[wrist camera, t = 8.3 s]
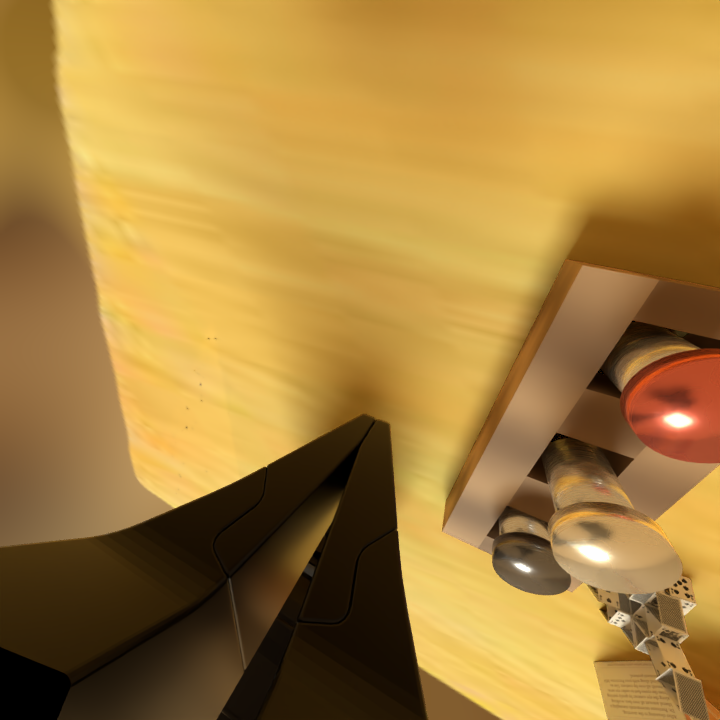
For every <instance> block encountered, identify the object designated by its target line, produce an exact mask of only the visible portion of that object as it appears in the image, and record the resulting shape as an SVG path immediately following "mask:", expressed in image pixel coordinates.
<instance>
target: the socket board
mask: <svg viewBox="0 0 720 720" xmlns="http://www.w3.org/2000/svg"><path fill="white" fill-rule="evenodd" d="M632 320H634V321H638V322H643V323H647V324H652V325H656V326H660V327H665V328H669V329H674V330H678V331H682V332H687V335H686V336H685V337H684V338H683V339H684V340H686V341H688V342H690V343H692V344H693V345H695V346H697V347H699V348H701V349H720V288H717V287H711V286H706V285H701V284H695V283H690V282H685V281H679V280H674V279H669V278H664V277H658V276H653V275H648V274H642V273H637V272H632V271H627V270H621V269H616V268H611V267H605V266H600V265H595V264H590V263H584V262H579V261H574V260H568V259H566V260H565V262H564V264H563V266H562V268H561V270H560V272H559V274H558V276H557V278H556V280H555V282H554V284H553V286H552V288H551V290H550V292H549V294H548V296H547V298H546V300H545V302H544V304H543V306H542V308H541V310H540V312H539V314H538V316H537V318H536V320H535V322H534V324H533V326H532V328H531V331H530V333H529V335H528V337H527V339H526V341H525V343H524V345H523V347H522V349H521V351H520V353H519V355H518V357H517V359H516V361H515V363H514V365H513V367H512V369H511V371H510V373H509V375H508V377H507V379H506V381H505V383H504V385H503V387H502V389H501V391H500V393H499V395H498V397H497V399H496V401H495V403H494V405H493V407H492V409H491V411H490V413H489V416H488V418H487V420H486V422H485V424H484V426H483V428H482V430H481V432H480V434H479V436H478V438H477V440H476V442H475V444H474V446H473V448H472V450H471V452H470V454H469V456H468V458H467V460H466V462H465V464H464V466H463V468H462V470H461V472H460V474H459V476H458V478H457V480H456V482H455V484H454V486H453V488H452V490H451V492H450V494H449V496H448V498H447V501H446V504H445V512H444V520H443V528H442V532H444V533H446V534H448V535H450V536H453V537H455V538H457V539H459V540H461V541H463V542H465V543H468V544H470V545H472V546H474V547H476V548H478V549H480V550H483V551H485V552H487V553H489V554H491V555H492V543H493V541H494V540H495V538H497V537H498V536H500V534H499V516H500V515H501V513H502V512H503V510H504V509H505V508H506V506H510V507H512V508H514V509H517V510H519V511H522V512H524V513H526V514H529V515H531V516H534V517H536V518H538V519H541V520H543V521H546V522H549V520H550V518H551V517H552V515H553V514H554V513H555V508H554V504H553V500H552V496H551V493H550V489H549V485H548V481H547V477H546V474H545V470H544V466H543V462H542V453H543V451H544V450H545V448H546V447H547V446H548V444H549V443H550V441H551V440H552V438H553V437H554V435H555V434H556V432H557V433H560V434H562V435H565V436H568V437H571V438H574V439H577V440H580V441H583V442H586V443H589V444H592V445H595V446H598V447H599V448H600V449H601V450H602V451H603V453H604V454H605V456H606V458H607V460H608V462H609V463H610V465H611V467H612V469H613V471H614V473H615V474H616V476H617V478H618V480H619V482H620V484H621V485H622V487H623V489H624V491H625V493H626V495H627V496H628V498H629V500H630V502H631V504H632V506H633V507H634V509H635V510H636V511H639V512H641V513H643V514H645V515H646V516H648V517H649V518H651V519H652V520H654V521H655V520H656V519H657V518H658V517H660V516H661V515H662V514H663V513H664V512H665V511H667V510H668V509H669V508H670V507H671V506H672V505H674V504H675V503H676V502H677V501H678V500H679V499H681V498H682V497H683V496H684V495H685V494H686V493H687V492H689V491H690V490H691V489H692V488H693V487H694V486H696V485H697V484H698V483H699V482H700V481H701V480H703V479H704V478H705V477H706V476H707V475H708V474H709V473H711V472H712V471H713V470H714V469H715V468H716V467H718V466H719V465H720V463H711V464H708V463H693V462H686V461H681V460H677V459H673V458H669V457H667V456H664V455H662V454H660V453H658V452H656V451H654V450H652V449H651V448H649V447H648V446H646V445H645V444H644V443H643V442H642V441H641V440H640V439H639V438H638V436H637V435H636V434H635V432H634V431H633V430H632V429H631V427H630V426H629V425H628V423H627V422H626V420H625V419H624V417H623V415H622V413H621V409H620V397H621V392H620V391H619V389H618V388H617V387H616V386H615V385H614V384H613V382H612V381H611V380H610V379H609V378H608V377H607V375H603V374H600V373H597V372H598V370H599V369H600V367H601V366H602V364H603V363H604V361H605V360H606V358H607V357H608V355H609V354H610V352H611V351H612V350H613V348H614V347H615V345H616V344H617V342H618V341H619V339H620V338H621V336H622V335H623V333H624V332H625V330H626V329H627V327H628V326H629V324H630V323H631V321H632ZM570 577H571V585H570V587H569V588H568V589H567V590H568V591H570V592H573V591H574V590H575V589H576V588H577V587H578V586H580V585H581V584H582V583H583V582H582V581H580V580H578V579H576V578H574V577H573V576H571V575H570Z"/></svg>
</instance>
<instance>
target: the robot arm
mask: <svg viewBox="0 0 720 720" xmlns="http://www.w3.org/2000/svg"><path fill="white" fill-rule="evenodd" d="M0 720H428V715H427V711H426V706H425V701H424V695H423V690H422V685H421V679H420V674H419V669H418V663H417V658H416V653H415V647H414V642H413V636H412V631H411V626H410V620H409V615H408V610H407V604H406V597H405V591H404V585H403V578H402V570H401V561H400V551H399V539H398V531H397V514H396V500H395V486H394V472H393V458H392V444H391V431H390V424H389V423H387V422H385V421H382V420H380V419H377V420H376V419H375V418H374V417H372V416H369V415H367V414H362V415H360V416H358V417H356V418H354V419H353V420H351V421H349V422H347V423H345V424H343V425H341V426H339V427H338V428H336V429H334V430H332V431H330V432H328V433H326V434H325V435H323V436H321V437H319V438H317V439H315V440H313V441H312V442H310V443H308V444H306V445H304V446H302V447H300V448H298V449H297V450H295V451H293V452H291V453H289V454H287V455H285V456H284V457H282V458H280V459H278V460H276V461H274V462H272V463H271V464H269V465H267V467H263V468H261V469H259V470H257V471H255V472H253V473H252V474H250V475H248V476H246V477H244V478H242V479H240V480H238V481H236V482H234V483H232V484H230V485H228V486H225V487H223V488H221V489H219V490H216V491H214V492H212V493H210V494H208V495H205V496H203V497H201V498H198V499H196V500H193V501H191V502H189V503H186V504H184V505H182V506H179V507H177V508H175V509H172V510H170V511H168V512H165V513H163V514H161V515H158V516H156V517H154V518H151V519H149V520H146V521H144V522H142V523H139V524H136V525H134V526H131V527H129V528H126V529H122V530H119V531H116V532H112V533H108V534H104V535H99V536H94V537H87V538H78V539H68V540H59V541H49V542H40V543H30V544H21V545H10V546H1V547H0Z"/></svg>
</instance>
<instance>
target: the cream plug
mask: <svg viewBox="0 0 720 720" xmlns="http://www.w3.org/2000/svg"><path fill="white" fill-rule="evenodd" d="M542 462H543V466H544V470H545V474H546V477H547V481H548V485H549V489H550V493H551V496H552V500H553V504H554V508H555V513H554V514H553V515H552V517H551V518H550V520H549V522H548V533H549V538H550V542H551V547H552V551H553V555H554V557H555V559H556V561H557V563H558V564H559V565H560V566H561V567H562V568H563V569H564V570H565V571H566V572H567V573H568V574H570V575H571V576H573V577H574V578H576V579H578V580H580V581H582V582H584V583H586V584H588V585H591V586H593V587H596V588H599V589H603V590H606V591H611V592H616V593H624V594H648V593H654V592H658V591H662V590H664V589H667V588H669V587H671V586H672V585H674V584H675V583H676V582H677V581H678V580H679V579H680V577H681V575H682V570H683V568H682V563H681V560H680V558H679V556H678V555H677V553H676V551H675V550H674V548H673V546H672V545H671V543H670V541H669V540H668V538H667V536H666V535H665V533H664V531H663V530H662V528H661V527H660V526H659V525H658V524H657V523H656V522H655V521H654V520H652V519H651V518H649V517H648V516H646V515H645V514H643V513H641V512H639V511H636V510H635V509H634V507H633V506H632V504H631V502H630V500H629V498H628V496H627V495H626V493H625V491H624V489H623V487H622V485H621V484H620V482H619V480H618V478H617V476H616V474H615V473H614V471H613V469H612V467H611V465H610V463H609V462H608V460H607V458H606V456H605V454H604V453H603V451H602V450H601V449H600V448H599V447H598V446H595V445H592V444H589V443H586V442H583V441H580V440H577V439H574V438H565V439H560V440H557V441H554V442H552V443H550V444H549V445H548V446H547V447H546V448H545V450H544V451H543V453H542Z"/></svg>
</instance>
